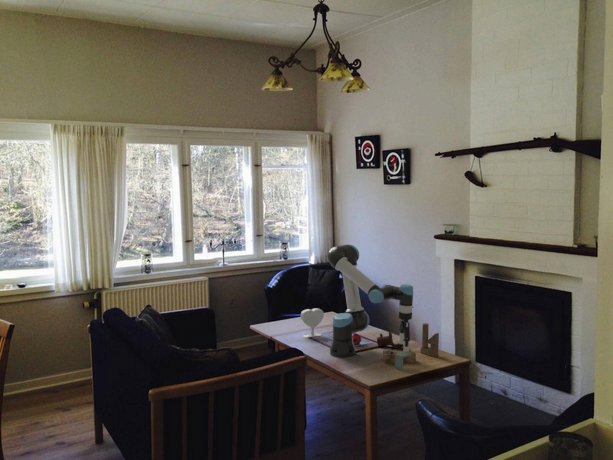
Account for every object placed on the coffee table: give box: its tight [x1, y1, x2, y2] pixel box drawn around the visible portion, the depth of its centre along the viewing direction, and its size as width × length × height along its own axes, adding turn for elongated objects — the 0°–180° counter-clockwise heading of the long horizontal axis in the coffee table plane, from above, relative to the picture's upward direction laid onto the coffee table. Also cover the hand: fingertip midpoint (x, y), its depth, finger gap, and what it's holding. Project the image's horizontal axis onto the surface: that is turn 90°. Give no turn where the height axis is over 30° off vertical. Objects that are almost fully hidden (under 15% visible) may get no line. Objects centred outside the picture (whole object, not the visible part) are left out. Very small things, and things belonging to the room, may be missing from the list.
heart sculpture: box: [300, 307, 325, 339], centre depth 361 cm, size 16×5×18 cm, turn 116°
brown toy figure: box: [376, 331, 404, 349], centre depth 337 cm, size 6×17×10 cm, turn 74°
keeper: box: [394, 351, 411, 370], centre depth 301 cm, size 4×8×8 cm, turn 125°
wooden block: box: [420, 322, 440, 358], centre depth 323 cm, size 4×11×18 cm, turn 39°
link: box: [382, 350, 417, 364], centre depth 311 cm, size 18×7×5 cm, turn 90°
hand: (403, 347), depth 311 cm, fingers open, 13 cm apart
